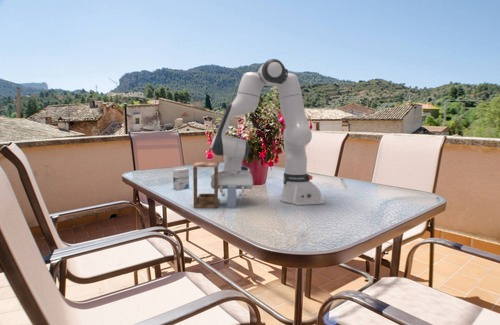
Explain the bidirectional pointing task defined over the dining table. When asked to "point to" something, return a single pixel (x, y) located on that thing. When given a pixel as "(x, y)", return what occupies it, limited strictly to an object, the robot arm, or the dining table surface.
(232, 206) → the peg
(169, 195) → the dining table surface
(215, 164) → the wooden frame stand
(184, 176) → the ink box
